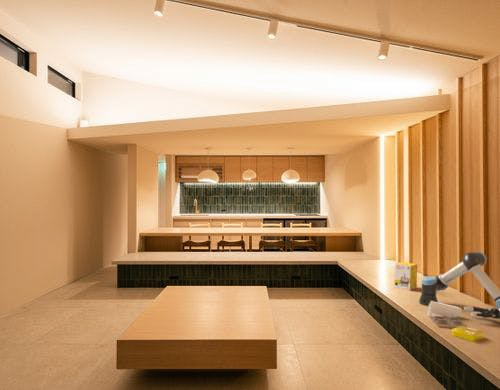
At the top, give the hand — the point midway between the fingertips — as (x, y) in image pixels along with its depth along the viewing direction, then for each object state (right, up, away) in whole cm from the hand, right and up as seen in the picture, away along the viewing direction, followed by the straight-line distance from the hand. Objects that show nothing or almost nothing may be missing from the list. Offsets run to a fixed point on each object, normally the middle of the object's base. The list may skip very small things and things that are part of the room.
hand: (467, 310), depth 279 cm
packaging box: (-7, -7, +96) cm, 96 cm away
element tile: (-22, -6, -37) cm, 43 cm away
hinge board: (-22, -5, -13) cm, 26 cm away
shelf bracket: (-17, -6, +3) cm, 18 cm away
